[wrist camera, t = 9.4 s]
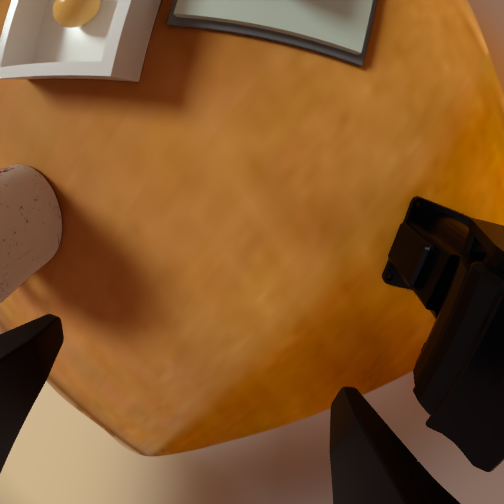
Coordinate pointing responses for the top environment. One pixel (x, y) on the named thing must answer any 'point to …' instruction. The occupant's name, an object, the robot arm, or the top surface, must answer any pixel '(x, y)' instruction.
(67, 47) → the dish
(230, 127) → the top surface
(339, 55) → the mat
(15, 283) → the teacup with lid
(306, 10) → the lid
